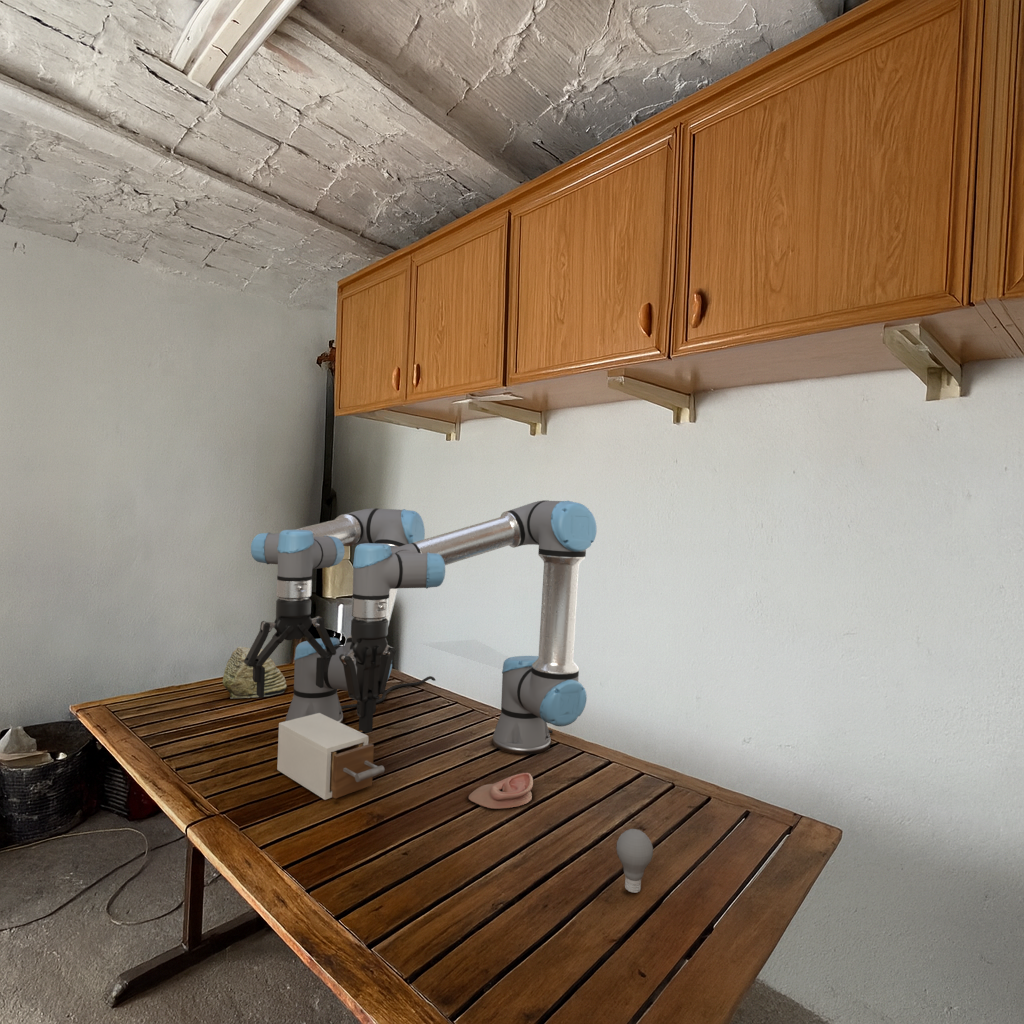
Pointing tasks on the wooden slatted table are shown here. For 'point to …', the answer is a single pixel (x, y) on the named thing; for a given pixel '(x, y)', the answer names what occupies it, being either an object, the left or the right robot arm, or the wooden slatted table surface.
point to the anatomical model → (504, 792)
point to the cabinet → (313, 749)
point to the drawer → (352, 769)
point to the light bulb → (634, 857)
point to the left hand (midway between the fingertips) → (290, 691)
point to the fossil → (251, 677)
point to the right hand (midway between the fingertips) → (365, 730)
